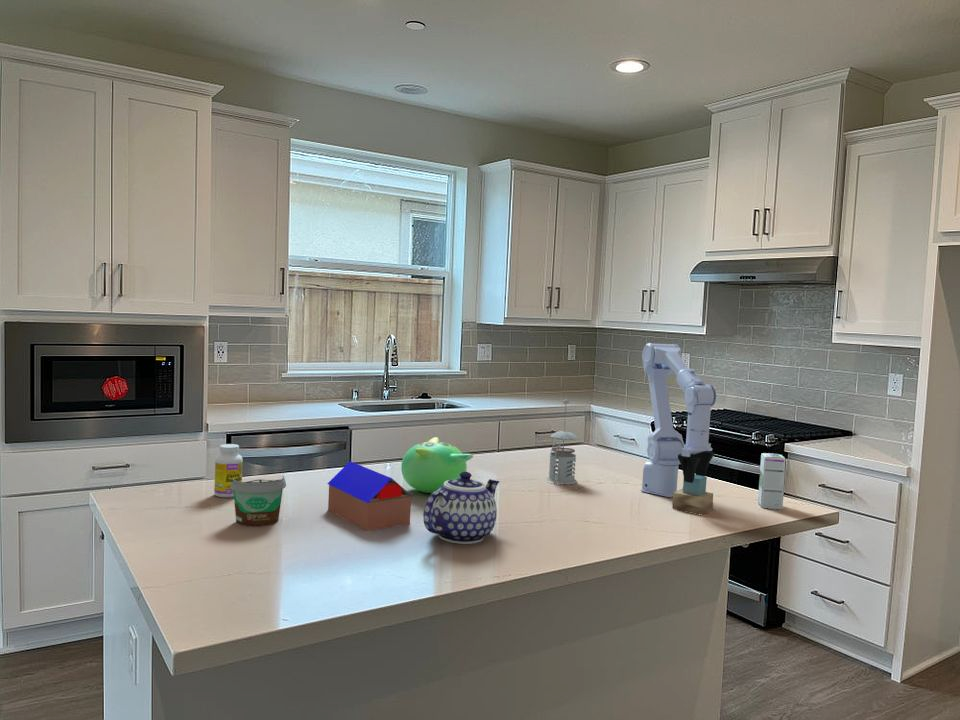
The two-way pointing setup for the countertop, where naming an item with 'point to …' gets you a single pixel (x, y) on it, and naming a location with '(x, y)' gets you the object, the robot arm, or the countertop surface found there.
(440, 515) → the teapot
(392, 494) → the house
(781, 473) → the syrup box
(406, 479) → the toy bird
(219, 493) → the supplement bottle
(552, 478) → the french press
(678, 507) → the slab bottom
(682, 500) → the slab top
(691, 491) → the teal cube
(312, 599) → the countertop surface
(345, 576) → the countertop surface
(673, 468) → the robot arm
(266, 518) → the food container
